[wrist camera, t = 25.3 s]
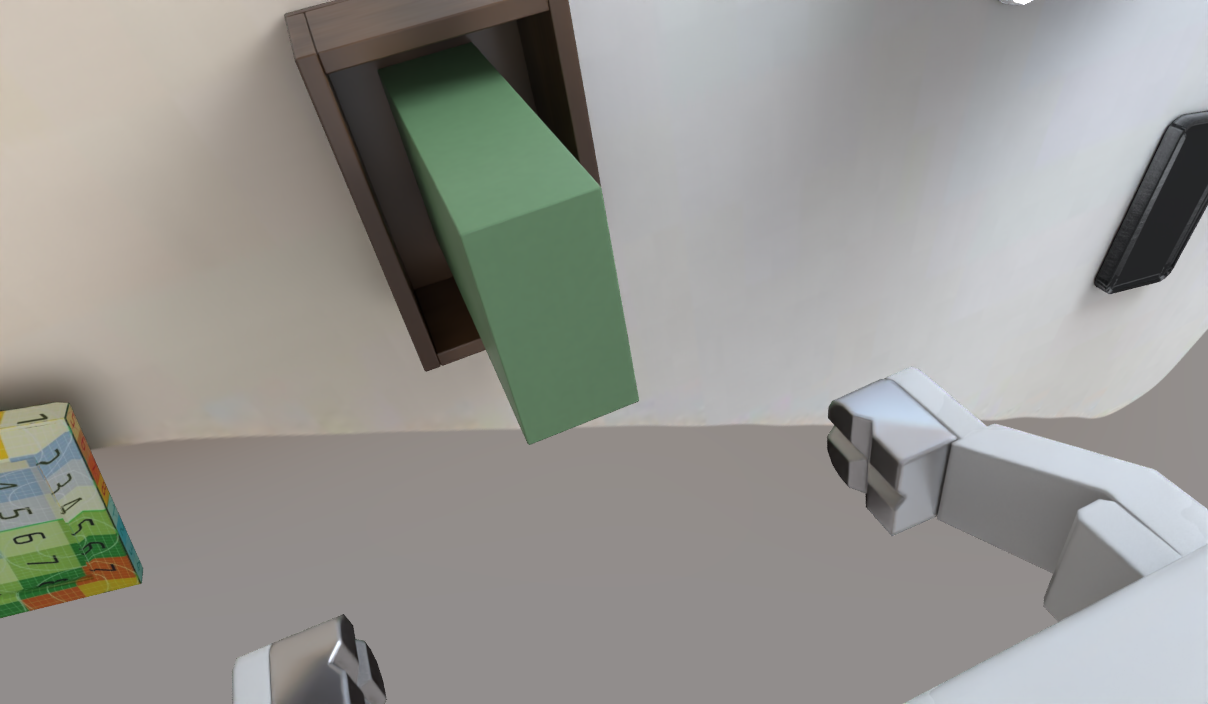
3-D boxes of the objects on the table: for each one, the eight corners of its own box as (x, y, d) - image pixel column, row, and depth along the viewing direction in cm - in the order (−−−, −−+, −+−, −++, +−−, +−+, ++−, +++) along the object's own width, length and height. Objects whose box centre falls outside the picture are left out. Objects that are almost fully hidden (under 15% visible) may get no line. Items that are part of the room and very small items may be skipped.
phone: (1101, 296, 64) (1187, 121, 55) (1090, 289, 65) (1173, 116, 56) (1168, 279, 67) (1261, 109, 57) (1156, 273, 67) (1246, 104, 58)
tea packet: (601, 186, 22) (640, 403, 28) (472, 41, 34) (518, 216, 40) (459, 235, 22) (529, 447, 28) (376, 69, 33) (438, 243, 39)
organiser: (516, -49, 33) (565, -18, 28) (576, 239, 43) (621, 300, 38) (283, 13, 31) (294, 59, 27) (401, 301, 41) (425, 372, 36)
